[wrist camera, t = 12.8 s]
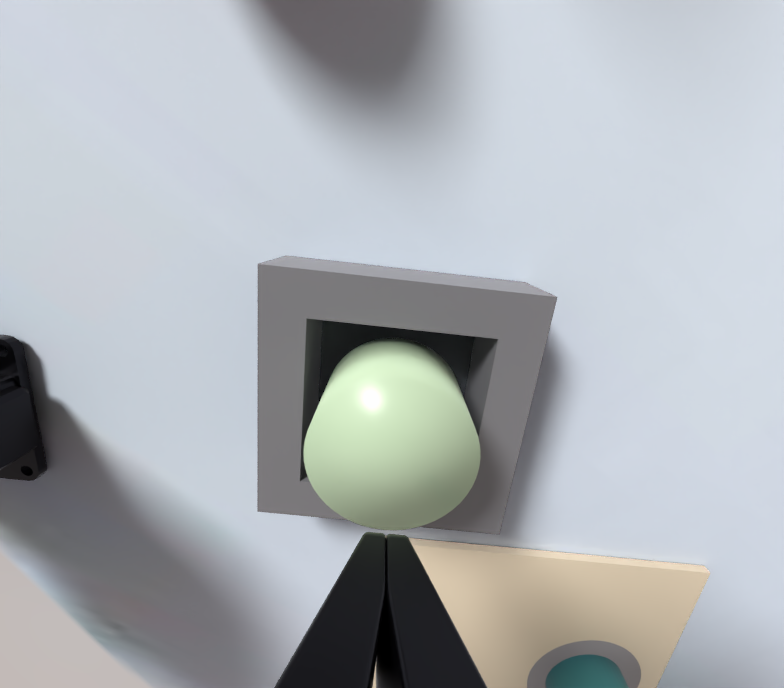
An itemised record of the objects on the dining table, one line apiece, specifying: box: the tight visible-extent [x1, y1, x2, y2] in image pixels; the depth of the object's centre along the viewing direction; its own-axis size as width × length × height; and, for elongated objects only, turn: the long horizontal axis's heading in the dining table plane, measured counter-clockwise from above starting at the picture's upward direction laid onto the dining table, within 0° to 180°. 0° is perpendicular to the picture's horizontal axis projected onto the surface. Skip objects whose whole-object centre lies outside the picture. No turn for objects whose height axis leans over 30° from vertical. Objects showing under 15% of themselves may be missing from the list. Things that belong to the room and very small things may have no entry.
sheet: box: [372, 538, 710, 688], centre depth 20 cm, size 16×12×1 cm
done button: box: [304, 338, 481, 530], centre depth 12 cm, size 5×5×4 cm
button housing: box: [258, 256, 557, 534], centre depth 14 cm, size 9×9×3 cm
